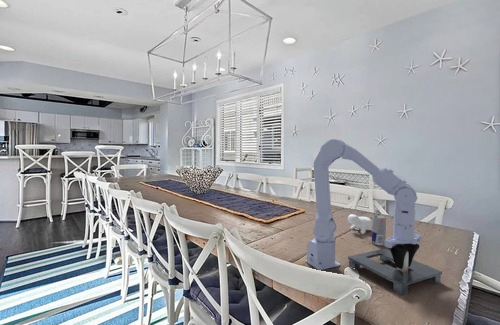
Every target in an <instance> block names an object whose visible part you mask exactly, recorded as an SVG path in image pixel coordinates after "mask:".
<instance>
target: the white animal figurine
mask: <svg viewBox="0 0 500 325" xmlns="http://www.w3.org/2000/svg"><path fill="white" fill-rule="evenodd" d="M347 223H349V224H350V225H351V226H350V227H349V229H350V230H355V229H356V228H357V229H358V230H360V233H361V234H362V235H365V233H366V231H372V218H370V217H367V216H358V215H356V214H352V213H351V214H349V215H348V217H347Z"/></svg>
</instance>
